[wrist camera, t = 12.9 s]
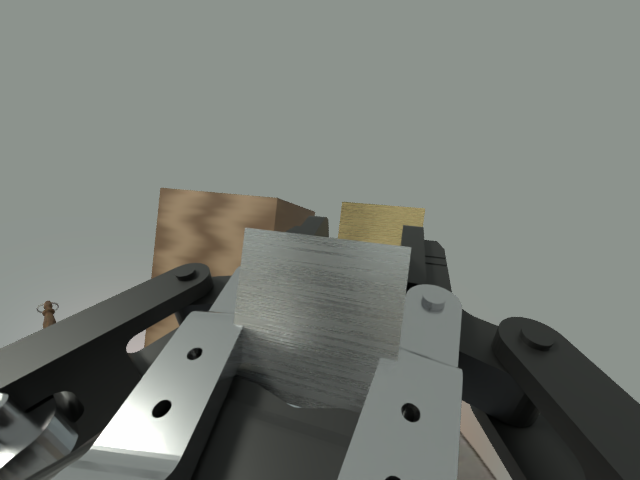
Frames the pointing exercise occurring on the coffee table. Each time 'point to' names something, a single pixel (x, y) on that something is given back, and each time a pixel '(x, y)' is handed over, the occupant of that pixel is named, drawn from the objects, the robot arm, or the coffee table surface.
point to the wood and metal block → (324, 306)
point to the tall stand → (211, 233)
